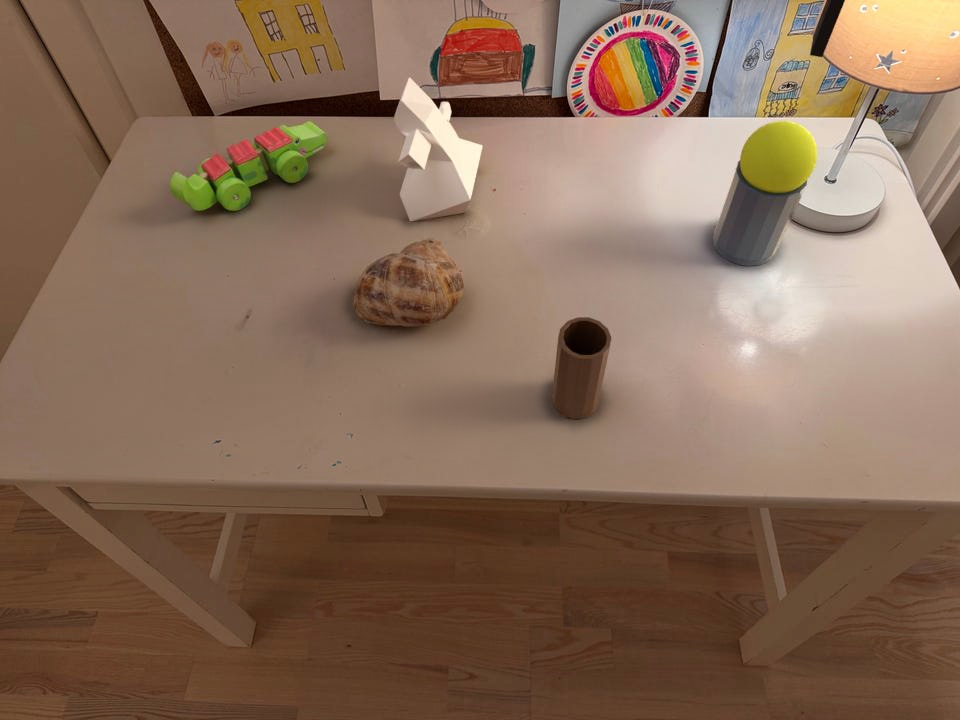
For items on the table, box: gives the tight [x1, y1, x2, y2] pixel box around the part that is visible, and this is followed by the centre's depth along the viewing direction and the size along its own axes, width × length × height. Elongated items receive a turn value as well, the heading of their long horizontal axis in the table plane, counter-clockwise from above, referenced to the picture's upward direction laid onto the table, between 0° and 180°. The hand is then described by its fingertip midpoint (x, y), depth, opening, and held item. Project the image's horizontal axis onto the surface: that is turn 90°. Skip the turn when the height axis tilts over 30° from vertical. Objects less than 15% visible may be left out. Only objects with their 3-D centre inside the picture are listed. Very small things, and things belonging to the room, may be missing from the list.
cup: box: [712, 160, 809, 267], centre depth 74 cm, size 7×7×10 cm
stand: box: [551, 316, 612, 420], centre depth 63 cm, size 4×4×10 cm
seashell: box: [352, 237, 465, 328], centre depth 72 cm, size 10×9×10 cm
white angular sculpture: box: [393, 76, 484, 222], centre depth 79 cm, size 8×14×14 cm, turn 171°
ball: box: [739, 120, 818, 194], centre depth 69 cm, size 7×7×7 cm
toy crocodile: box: [169, 120, 328, 212], centre depth 84 cm, size 20×7×6 cm, turn 128°
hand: (931, 64), depth 44 cm, fingers open, 13 cm apart
